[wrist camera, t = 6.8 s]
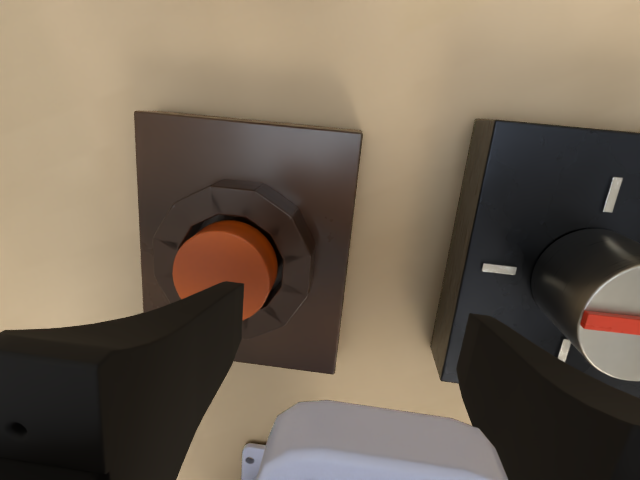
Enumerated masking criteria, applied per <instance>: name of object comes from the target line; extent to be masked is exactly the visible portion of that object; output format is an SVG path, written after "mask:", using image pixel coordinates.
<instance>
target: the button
mask: <svg viewBox="0 0 640 480" xmlns="http://www.w3.org/2000/svg"><path fill="white" fill-rule="evenodd" d="M277 271H278V263H277V257H276V254H275V251H274V249H273V247H272V245H271V243H270V242H269V240H268V239H267V238H266V237H265V236H264V235H263V234H262V233H261V232H260V231H259V230H257V229H256V228H254V227H253V226H251V225H249V224H246V223H243V222H240V221H235V220H222V221H218V222H214V223H212V224H209V225H208V226H206V227H204V228H203V229H202V230H200V231H199V232H198V233H196V234H195V235H194V236H192V237H191V238H190V239H188V240H187V241H186V242H185V243H184V244H183V245H182V246H181V247H180V249H179V250H178V252H177V254H176V256H175V259H174V263H173V281H174V285H175V288H176V291H177V293H178V295H179V297H180V298H181V299H184V298H186V297H188V296H191V295H193V294H195V293H198V292H200V291H202V290H204V289H207V288H209V287H211V286H213V285H216V284H218V283H221V282H225V281H229V282H236V283H244V299H243V320H245V319H247V318H249V317H251V316H252V315H254V314H255V313H256V312H257V311H259V309H260V308H261V307H262V306H263V304H264V303H265V301H266V299H267V297H268V295H269V293H270V291H271V289H272V287H273V285H274V283H275V280H276V277H277Z"/></svg>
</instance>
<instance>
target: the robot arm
mask: <svg viewBox="0 0 640 480" xmlns="http://www.w3.org/2000/svg"><path fill="white" fill-rule="evenodd" d="M243 299H244V283H236V282H229V281H225V282H221V283H218V284H216V285H213V286H211V287H209V288H207V289H204V290H202V291H200V292H198V293H195V294H193V295H191V296H188V297H186V298H184V299H181V300H178V301H176V302H173V303H171V304H168V305H166V306H163V307H160V308H157V309H154V310H151V311H148V312H144V313H141V314H137V315H134V316H130V317H126V318H121V319H116V320H111V321H105V322H100V323H95V324H88V325H81V326H72V327H63V328H51V329H28V330H4V331H2V332H1V333H0V480H176V479H177V476H178V474H179V471H180V469H181V466H182V463H183V461H184V459H185V456H186V454H187V451H188V449H189V447H190V444H191V442H192V439H193V437H194V435H195V432H196V430H197V428H198V426H199V424H200V422H201V420H202V418H203V416H204V414H205V413H206V411H207V409H208V407H209V405H210V404H211V402H212V400H213V398H214V396H215V395H216V393H217V391H218V389H219V387H220V386H221V384H222V382H223V380H224V378H225V377H226V375H227V373H228V371H229V369H230V367H231V365H232V363H233V361H234V358H235V356H236V353H237V350H238V348H239V345H240V342H241V339H242V320H243ZM456 371H457V376H458V381H459V386H460V390H461V395H462V398H463V401H464V404H465V407H466V410H467V412H468V415H469V418H470V420H471V423H472V426H471V425H468V424H466V423H463V422H460V421H458V420H455V419H453V418H447V417H440V416H433V415H427V414H420V413H413V412H406V411H399V410H392V409H386V408H379V407H372V406H365V405H358V404H351V403H344V402H338V401H331V400H321V401H307V402H298V403H297V404H295V405H294V406H292V407H290V408H289V409H287V410H286V411H284V412H283V413H281V414H279V415H278V416H277V418H276V420H275V422H274V425H273V427H272V429H271V432H270V434H269V436H268V440H267V443H266V445H261V444H254V443H248V444H246V445H245V446H244V449H243V452H242V475H241V480H640V398H638V397H635V396H633V395H631V394H628V393H626V392H623V391H621V390H619V389H616V388H614V387H612V386H610V385H608V384H605V383H603V382H601V381H599V380H597V379H595V378H593V377H591V376H589V375H587V374H585V373H583V372H581V371H580V370H578V369H576V368H574V367H572V366H570V365H569V364H567V363H565V362H564V361H562V360H560V359H558V358H557V357H555V356H553V355H552V354H550V353H548V352H547V351H545V350H544V349H542V348H540V347H539V346H537V345H536V344H534V343H533V342H531V341H530V340H528V339H527V338H525V337H524V336H522V335H521V334H519V333H517V332H516V331H514V330H513V329H511V328H510V327H508V326H507V325H505V324H504V323H502V322H500V321H499V320H497V319H495V318H493V317H491V316H488V315H480V314H472V313H469V317H468V321H467V325H466V329H465V334H464V338H463V342H462V346H461V351H460V355H459V359H458V363H457V368H456ZM249 457H251V458H253V459H251V458H249Z"/></svg>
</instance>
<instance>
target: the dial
mask: <svg viewBox="0 0 640 480" xmlns="http://www.w3.org/2000/svg"><path fill="white" fill-rule="evenodd" d="M531 289H532V294H533V298H534V300H535V302H536V304H537V305H538V307H539V308H540V309H541V310H542V312H543V313H544V314H545V315H546V316H547V317H548V318H549V319H550V320H551V321H552V322H553V324H554V325H555V326H556V327H557V328H558V329H559V330H560V331H561V332H562V333H563V334H564V335H565V337H566V338H567V339H568V340H569V341H570V342H571V343H572V344H573V345H574V346H575V347H576V348H577V350H578V351H579V352H580V353H581V354H582V355H583V356H584V357H585V358H586V359H587V360H588V361H589V363H590V364H591V365H593V366H594V367H595V368H596V369H598V370H599V371H601V372H602V373H604V374H607V375H609V376H611V377H614V378H618V379H622V380H627V381H640V243H638V242H636V241H634V240H631V239H629V238H627V237H625V236H623V235H621V234H619V233H616V232H614V231H610V230H606V229H584V230H579V231H576V232H573V233H570V234H568V235H565V236H563V237H562V238H560V239H558V240H557V241H555V242H554V243H553V244H551V245H550V246H549V247H548V248H547V249H546V250H545V251H544V252H543V253H542V255H541V256H540V258H539V259H538V261H537V263H536V265H535V267H534V270H533V273H532V279H531Z"/></svg>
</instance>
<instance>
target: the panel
mask: <svg viewBox="0 0 640 480" xmlns="http://www.w3.org/2000/svg"><path fill="white" fill-rule="evenodd" d="M584 229H606V230H610V231H614V232H616V233H619V234H621V235H623V236H625V237H627V238H629V239H631V240H634V241H636V242H638V243H640V133H634V132H624V131H613V130H602V129H591V128H581V127H570V126H559V125H548V124H537V123H527V122H516V121H505V120H492V119H475V122H474V127H473V132H472V137H471V143H470V148H469V153H468V158H467V163H466V168H465V173H464V178H463V183H462V188H461V193H460V199H459V204H458V209H457V214H456V219H455V224H454V229H453V234H452V239H451V244H450V249H449V255H448V260H447V265H446V270H445V275H444V280H443V285H442V290H441V295H440V300H439V306H438V311H437V316H436V321H435V326H434V331H433V336H432V341H431V346H430V347H431V350H432V354H433V357H434V360H435V364H436V367H437V370H438V374H439V377H440V380H441V381H445V382H452V383H459V381H458V376H457V371H456V368H457V363H458V359H459V355H460V351H461V346H462V342H463V338H464V334H465V329H466V325H467V321H468V317H469V313H472V314H480V315H488V316H491V317H493V318H495V319H497V320H499V321H500V322H502V323H504V324H505V325H507V326H508V327H510V328H511V329H513V330H514V331H516V332H517V333H519V334H521V335H522V336H524V337H525V338H527V339H528V340H530V341H531V342H533V343H534V344H536V345H537V346H539V347H540V348H542V349H544V350H545V351H547V352H548V353H550V354H552V355H553V356H555V357H557V358H558V359H560V360H562V361H564V362H565V363H567V364H569V365H570V366H572V367H574V368H576V369H578V370H580V371H581V372H583V373H585V374H587V375H589V376H591V377H593V378H595V379H597V380H599V381H601V382H603V383H605V384H608V385H610V386H612V387H614V388H616V389H619V390H621V391H623V392H626V393H628V394H631V395H633V396H635V397H638V398H640V381H627V380H622V379H618V378H614V377H611V376H609V375H607V374H604V373H602V372H601V371H599V370H598V369H596V368H595V367H594V366H593V365H591V364H590V363H589V361H588V360H587V359H586V358H585V357H584V356H583V355H582V354H581V353H580V352H579V351H578V350H577V348H576V347H575V346H574V345H573V344H572V343H571V342H570V341H569V340H568V339H567V338H566V337H565V335H564V334H563V333H562V332H561V331H560V330H559V329H558V328H557V327H556V326H555V325H554V324H553V322H552V321H551V320H550V319H549V318H548V317H547V316H546V315H545V314H544V313H543V312H542V310H541V309H540V308H539V307H538V305H537V304H536V302H535V300H534V298H533V294H532V289H531V279H532V273H533V270H534V267H535V265H536V263H537V261H538V259H539V258H540V256H541V255H542V253H543V252H544V251H545V250H546V249H547V248H548V247H549V246H550V245H551V244H553V243H554V242H555V241H557V240H558V239H560V238H562V237H563V236H565V235H568V234H570V233H573V232H576V231H579V230H584Z"/></svg>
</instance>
